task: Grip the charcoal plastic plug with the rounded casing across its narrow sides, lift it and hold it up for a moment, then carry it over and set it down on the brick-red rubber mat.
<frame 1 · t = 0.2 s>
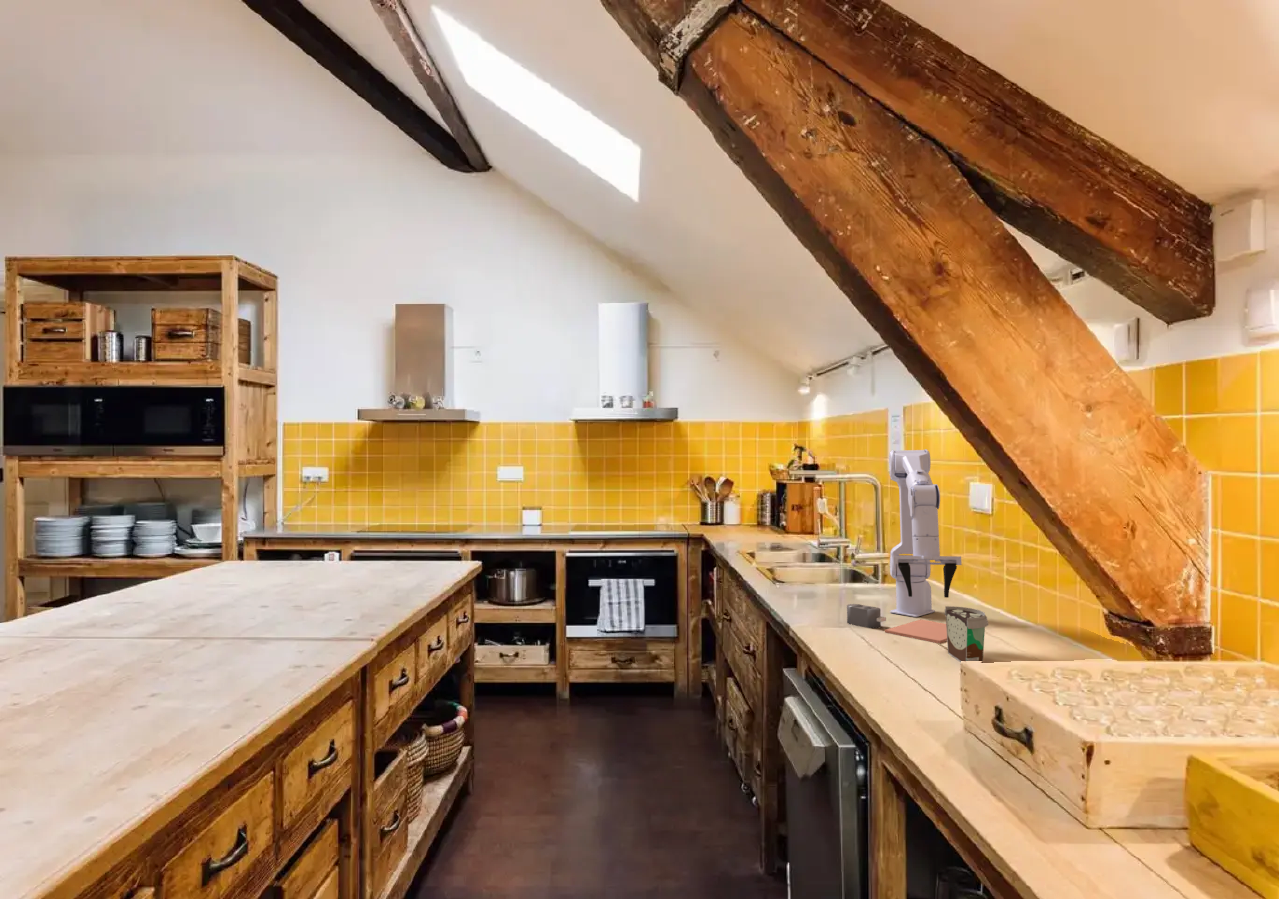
hand: (928, 597, 168), 10 cm above the counter, tool pointing down, fingers open, 7 cm apart
plug: (863, 624, 187), on the counter
mat: (929, 631, 178), on the counter
food container: (971, 660, 155), on the counter
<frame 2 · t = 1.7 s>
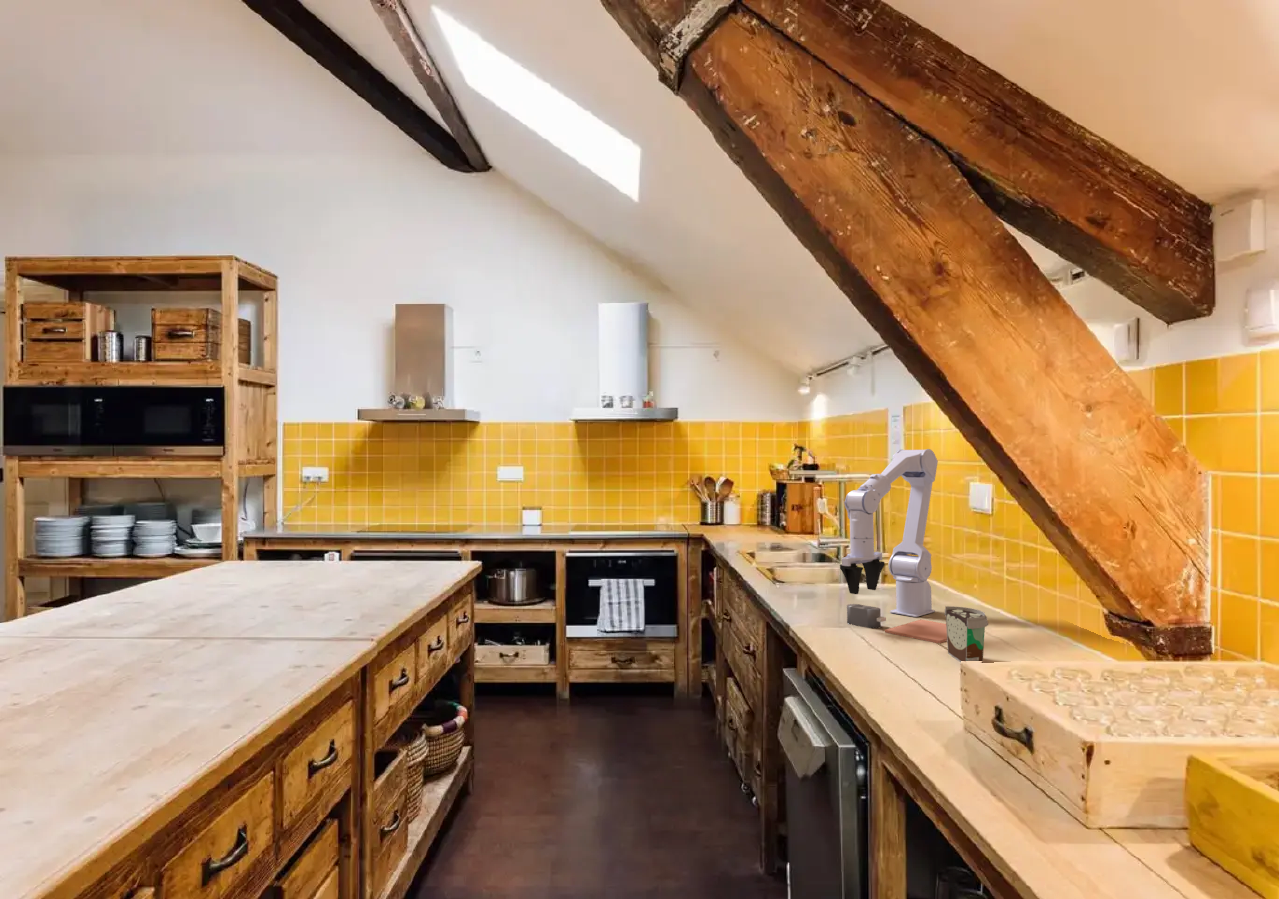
hand: (862, 591, 187), 8 cm above the counter, tool pointing down, fingers open, 7 cm apart
nothing on the counter moved.
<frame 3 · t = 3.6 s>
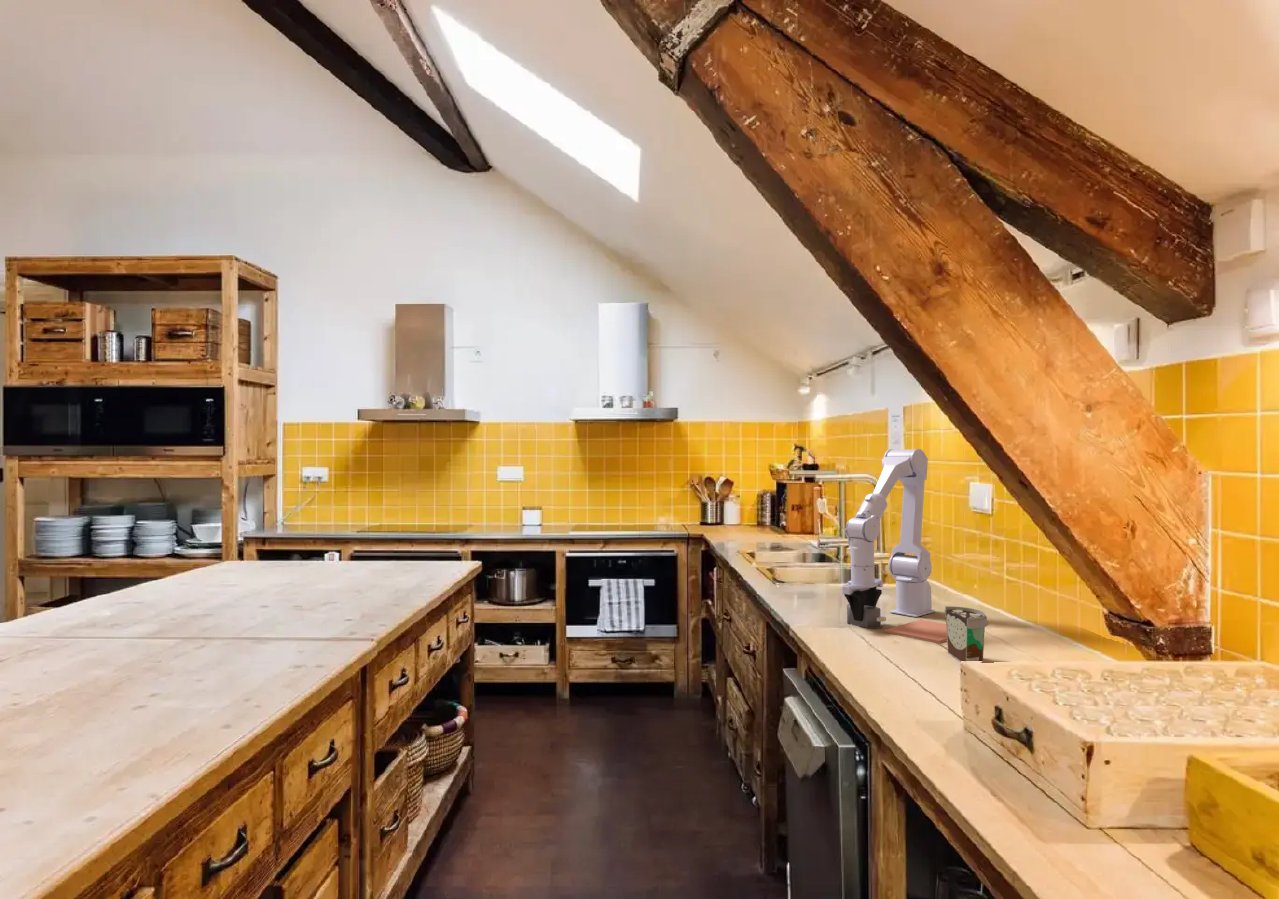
hand: (863, 619, 187), 1 cm above the counter, tool pointing down, fingers closed on plug, 4 cm apart
plug: (863, 624, 187), on the counter, touching gripper
everything else where it was.
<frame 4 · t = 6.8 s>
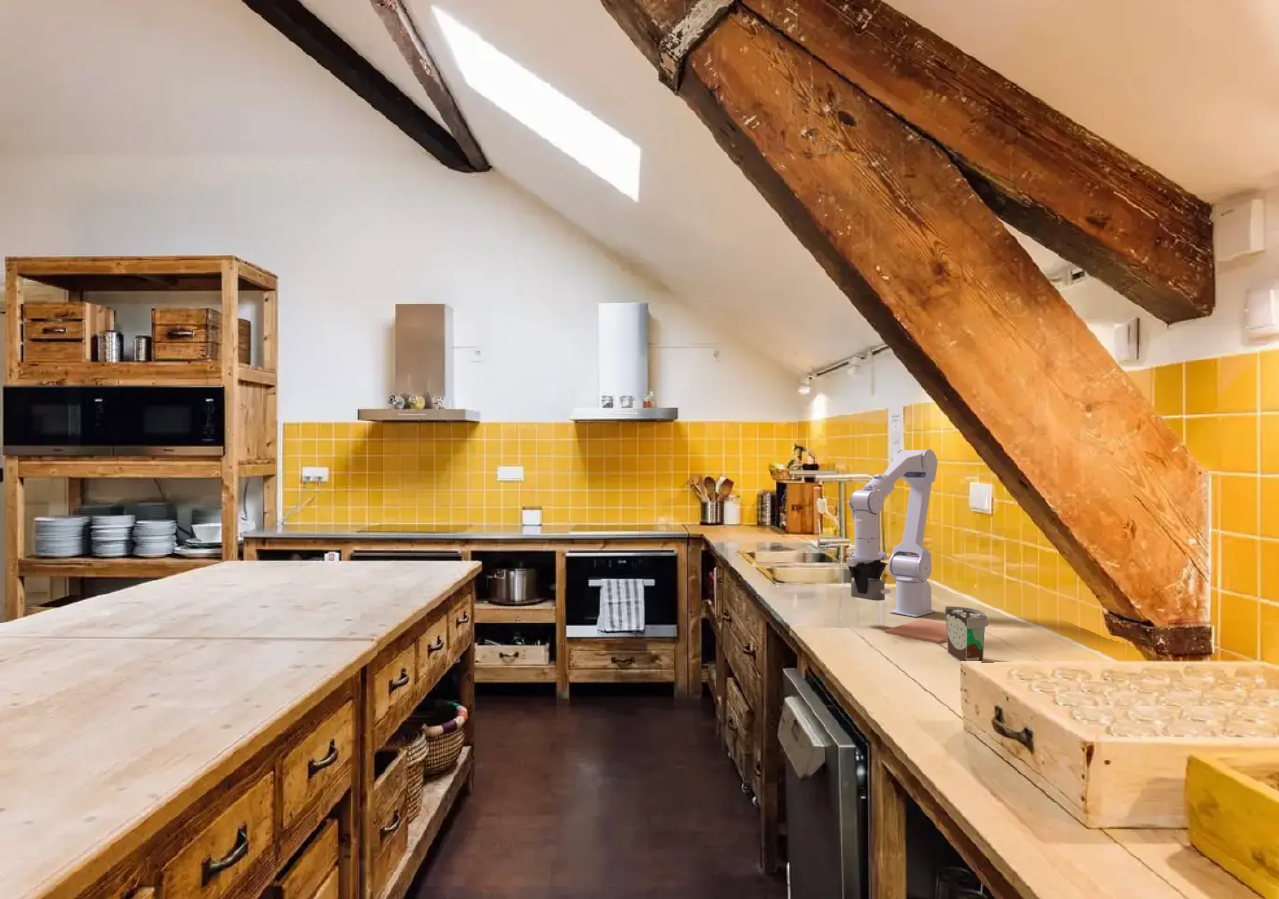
hand: (867, 591, 186), 8 cm above the counter, tool pointing down, fingers closed on plug, 4 cm apart
plug: (867, 597, 186), point 7 cm above the counter, touching gripper
everything else where it was.
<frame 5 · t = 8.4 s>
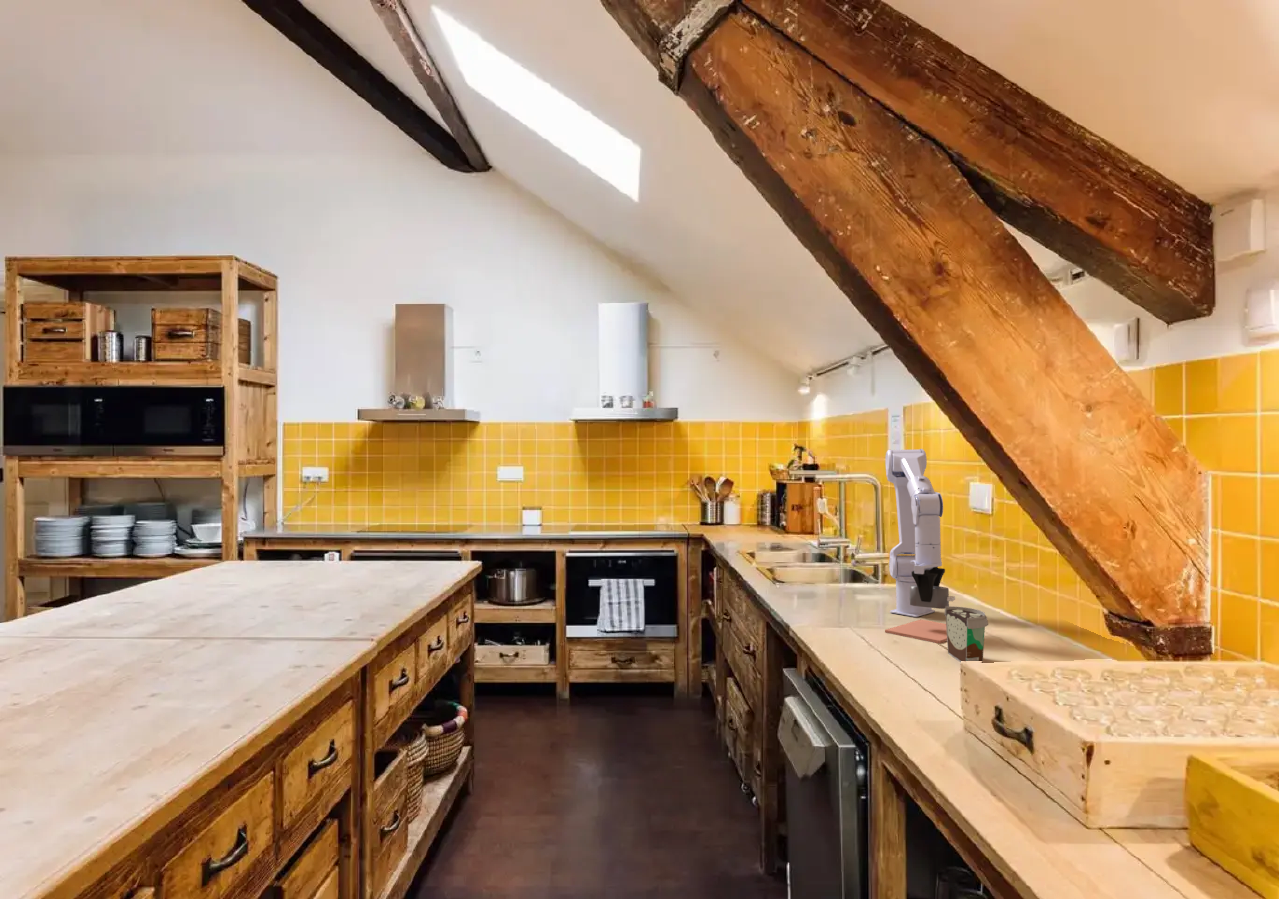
hand: (928, 599, 178), 8 cm above the counter, tool pointing down, fingers closed on plug, 4 cm apart
plug: (929, 605, 178), point 6 cm above the counter, touching gripper
everything else where it was.
when the fingers open (3 cm above the counter, at t = 10.1 s): plug drops 1 cm, resting on mat.
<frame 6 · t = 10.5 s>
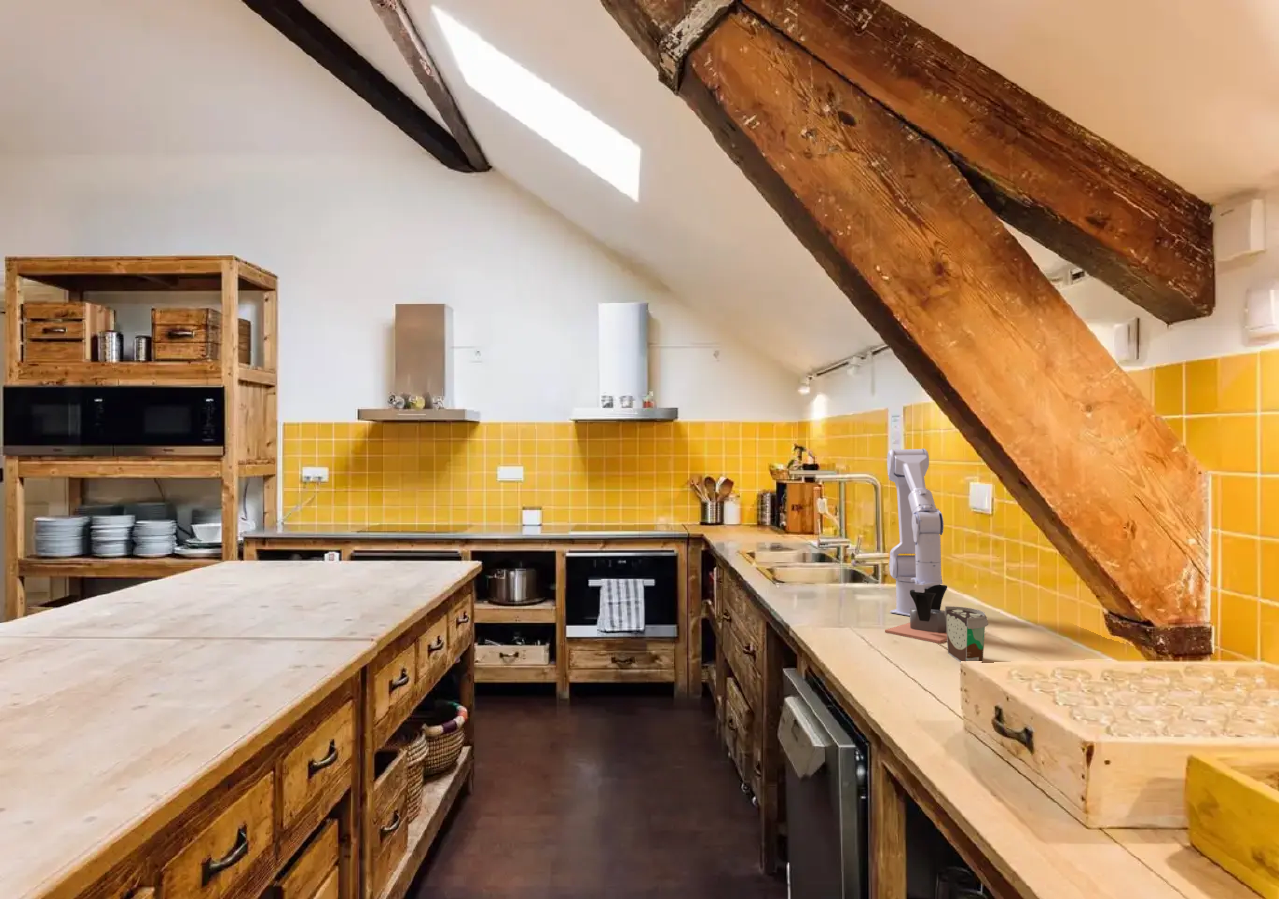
hand: (929, 617, 178), 3 cm above the counter, tool pointing down, fingers open, 7 cm apart
plug: (929, 629, 178), point 1 cm above the counter, touching mat
everything else where it was.
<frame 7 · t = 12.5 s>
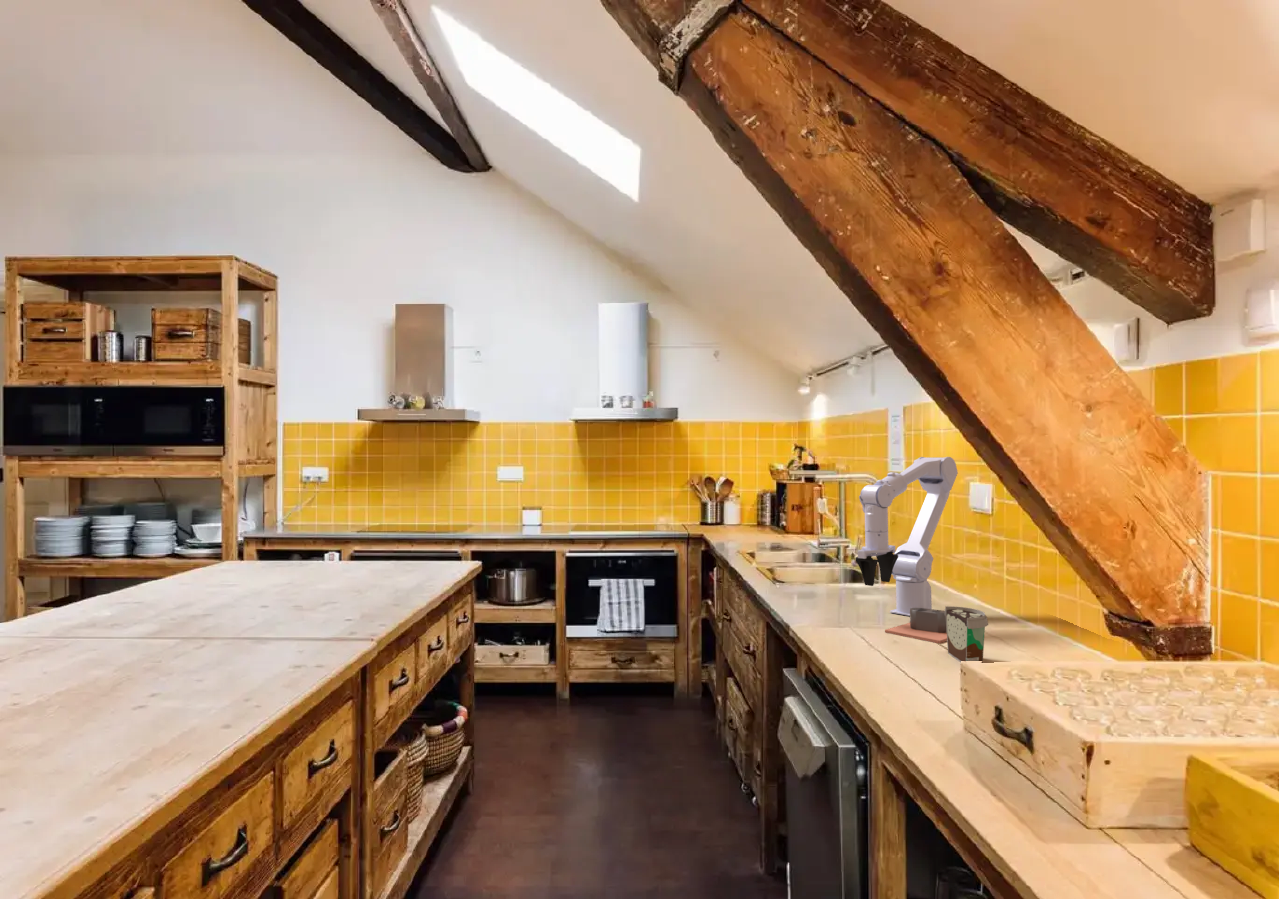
hand: (877, 583, 192), 9 cm above the counter, tool pointing down, fingers open, 7 cm apart
nothing on the counter moved.
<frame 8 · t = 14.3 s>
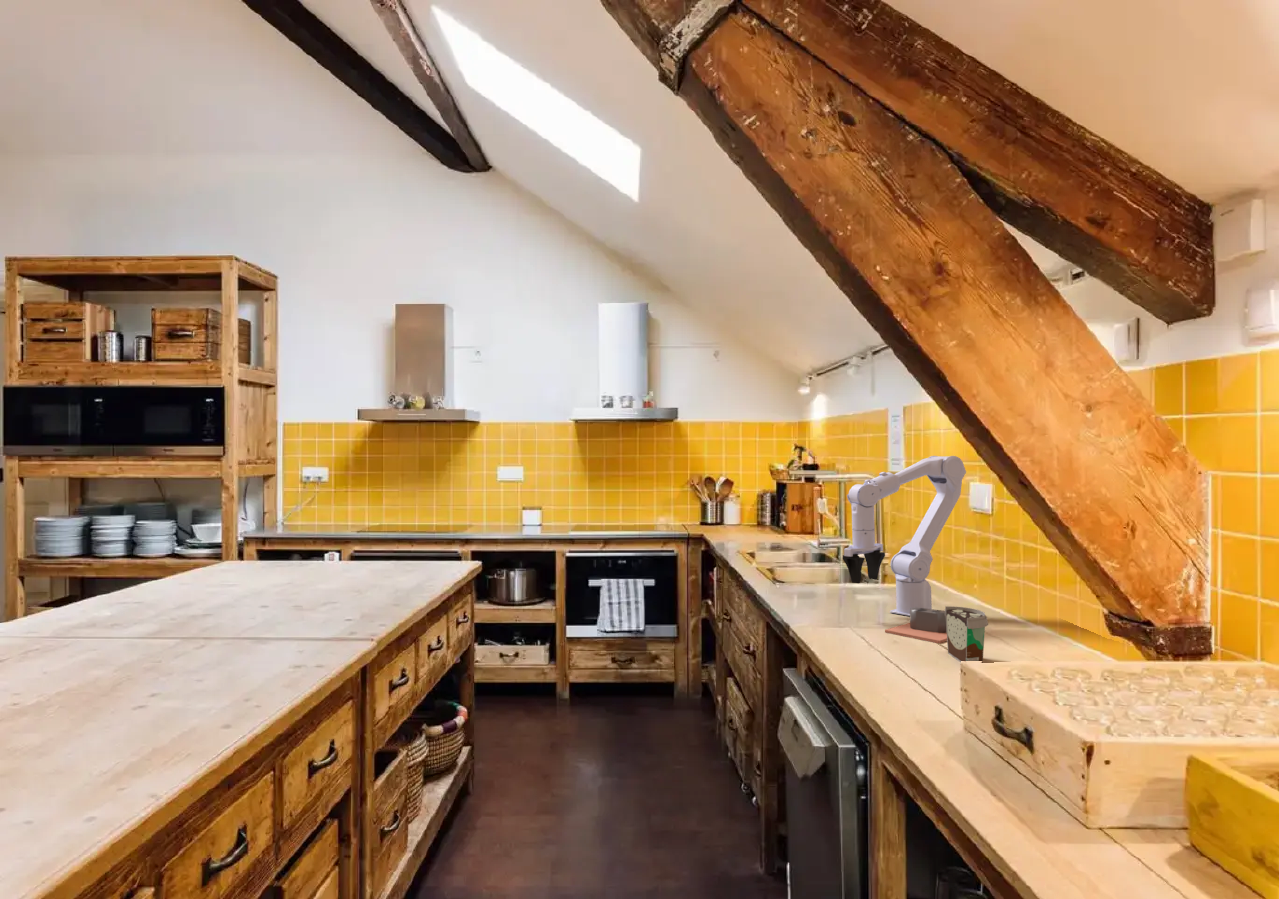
hand: (864, 581, 196), 9 cm above the counter, tool pointing down, fingers open, 7 cm apart
nothing on the counter moved.
at the end: plug inside the target area on the mat (0.0 cm from its centre), point 0.6 cm above the mat's base; plug tilted 0°; the gripper is holding nothing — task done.
